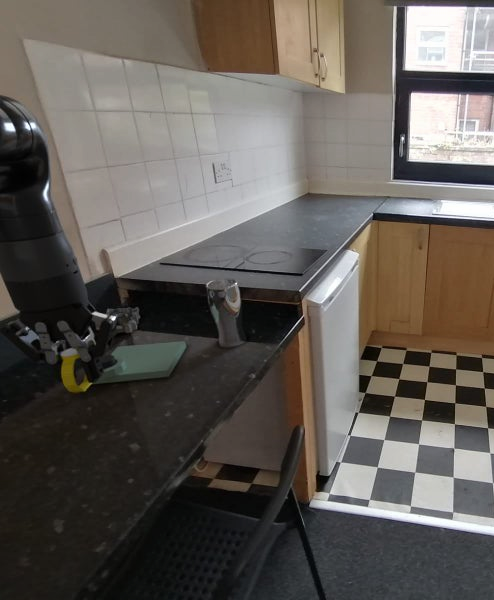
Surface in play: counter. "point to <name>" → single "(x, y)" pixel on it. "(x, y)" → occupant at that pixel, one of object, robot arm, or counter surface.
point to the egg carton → (126, 319)
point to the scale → (143, 362)
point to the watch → (71, 372)
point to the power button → (107, 361)
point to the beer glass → (226, 311)
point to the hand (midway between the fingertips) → (83, 380)
